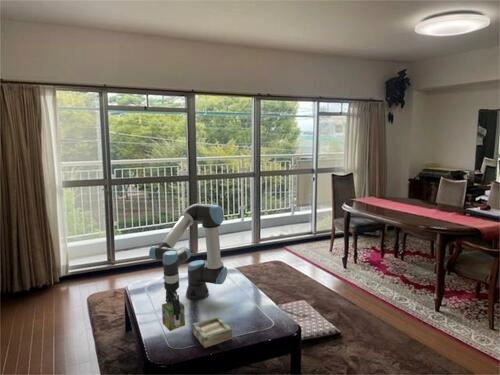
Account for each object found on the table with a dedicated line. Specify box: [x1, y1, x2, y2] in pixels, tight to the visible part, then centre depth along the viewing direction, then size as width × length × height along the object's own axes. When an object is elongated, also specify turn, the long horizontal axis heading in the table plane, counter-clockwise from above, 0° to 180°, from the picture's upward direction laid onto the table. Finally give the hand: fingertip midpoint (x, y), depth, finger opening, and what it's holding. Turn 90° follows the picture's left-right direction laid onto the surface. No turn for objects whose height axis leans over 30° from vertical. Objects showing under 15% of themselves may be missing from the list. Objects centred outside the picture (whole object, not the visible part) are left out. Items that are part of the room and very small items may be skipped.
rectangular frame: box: [192, 315, 233, 349], centre depth 196 cm, size 16×16×6 cm
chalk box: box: [161, 299, 186, 332], centre depth 191 cm, size 9×9×15 cm
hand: (173, 320), depth 192 cm, fingers closed on chalk box, 9 cm apart
